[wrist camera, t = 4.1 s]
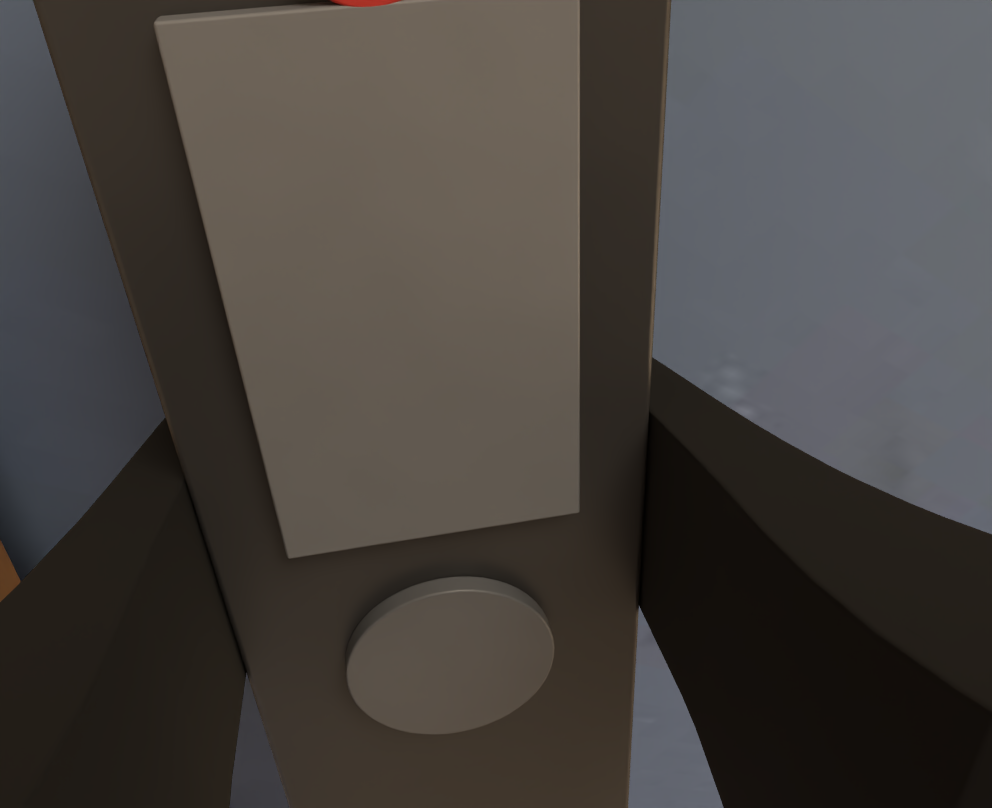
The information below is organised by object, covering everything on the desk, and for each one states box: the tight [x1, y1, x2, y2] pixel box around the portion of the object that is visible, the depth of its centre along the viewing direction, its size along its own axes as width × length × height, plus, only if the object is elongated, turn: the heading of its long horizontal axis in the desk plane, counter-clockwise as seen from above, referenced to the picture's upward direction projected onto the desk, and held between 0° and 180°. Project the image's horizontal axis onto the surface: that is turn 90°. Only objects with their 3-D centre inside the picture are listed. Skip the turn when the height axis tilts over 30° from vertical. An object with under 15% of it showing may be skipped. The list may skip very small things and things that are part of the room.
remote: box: [33, 0, 671, 808], centre depth 11 cm, size 15×5×4 cm, turn 3°
